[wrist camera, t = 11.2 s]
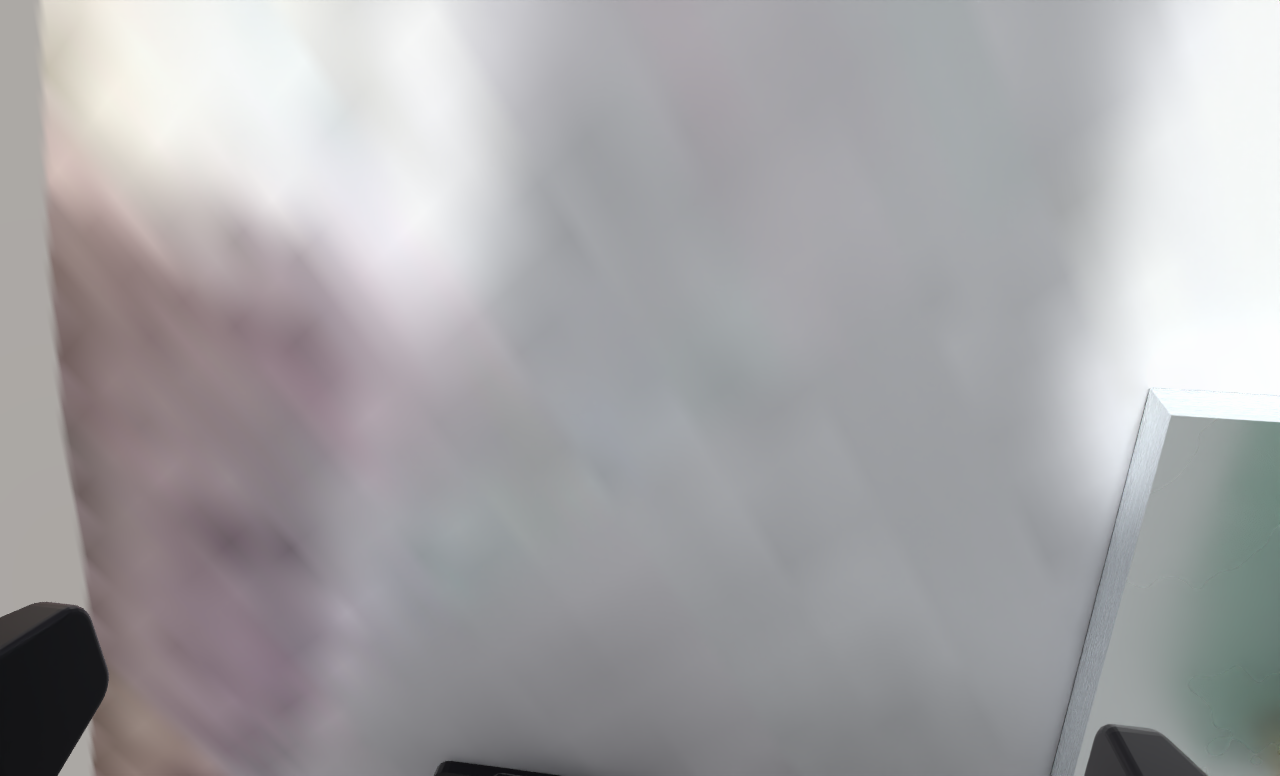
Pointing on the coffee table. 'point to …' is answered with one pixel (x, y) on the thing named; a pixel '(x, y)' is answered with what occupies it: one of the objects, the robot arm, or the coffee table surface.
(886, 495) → the coffee table surface
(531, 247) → the coffee table surface
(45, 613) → the robot arm
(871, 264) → the coffee table surface
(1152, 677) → the white peg board
